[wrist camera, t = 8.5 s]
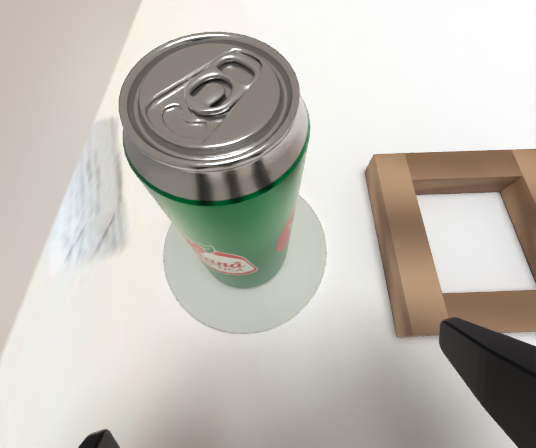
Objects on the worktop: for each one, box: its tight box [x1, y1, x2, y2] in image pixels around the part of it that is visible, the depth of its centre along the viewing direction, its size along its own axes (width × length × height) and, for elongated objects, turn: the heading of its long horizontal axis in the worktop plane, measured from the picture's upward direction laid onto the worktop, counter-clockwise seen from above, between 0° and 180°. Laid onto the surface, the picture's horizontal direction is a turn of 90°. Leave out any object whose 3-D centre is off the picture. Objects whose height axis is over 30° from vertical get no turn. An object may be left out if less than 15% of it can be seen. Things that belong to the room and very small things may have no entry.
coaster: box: [163, 194, 327, 333], centre depth 18 cm, size 10×10×1 cm
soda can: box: [119, 32, 310, 288], centre depth 12 cm, size 5×5×12 cm
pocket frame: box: [365, 149, 536, 337], centre depth 18 cm, size 11×11×2 cm
